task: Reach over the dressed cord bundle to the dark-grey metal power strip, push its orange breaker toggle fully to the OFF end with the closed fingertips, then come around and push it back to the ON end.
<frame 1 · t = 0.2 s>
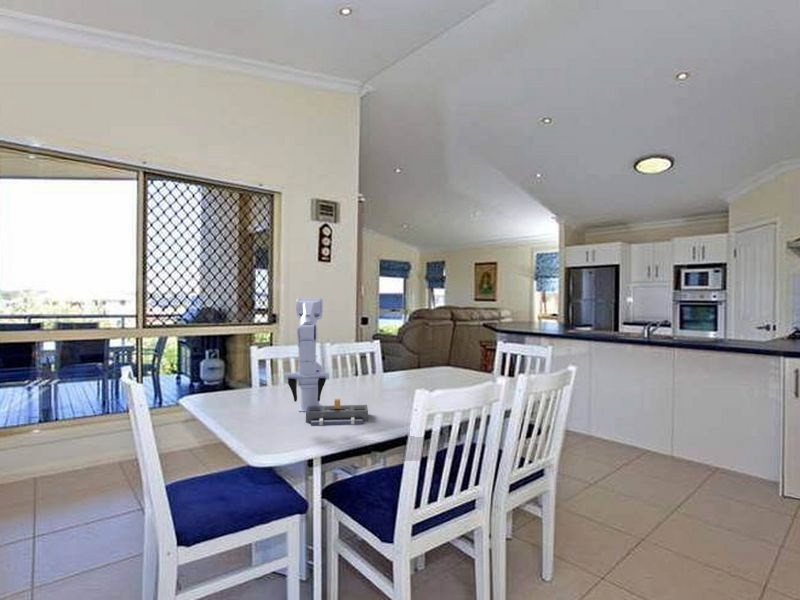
hand: (307, 400, 159), 10 cm above the table, fingers open, 7 cm apart
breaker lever: (337, 403, 173), point 5 cm above the table, slide at 0.0 cm
cords: (337, 423, 167), on the table
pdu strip: (337, 418, 173), on the table
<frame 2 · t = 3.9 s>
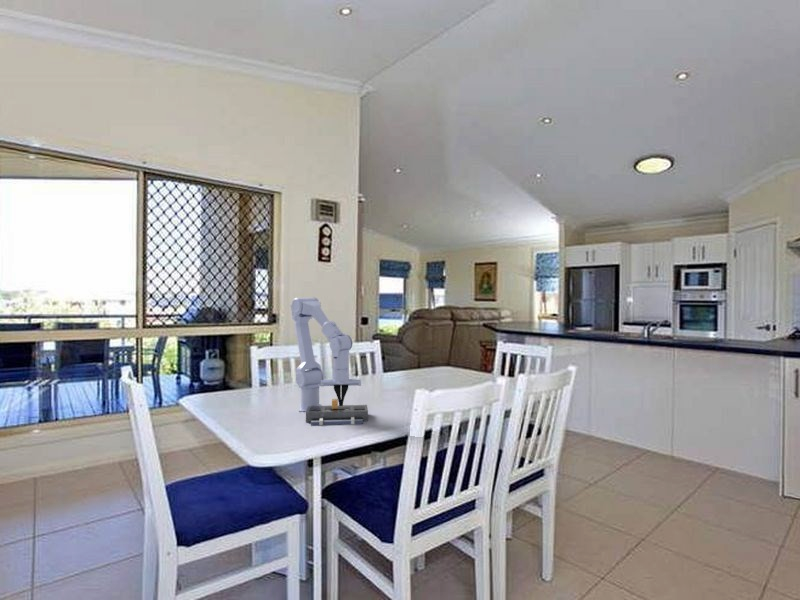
hand: (341, 405, 173), 5 cm above the table, fingers closed
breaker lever: (334, 403, 173), point 5 cm above the table, slide at -1.0 cm, touching gripper
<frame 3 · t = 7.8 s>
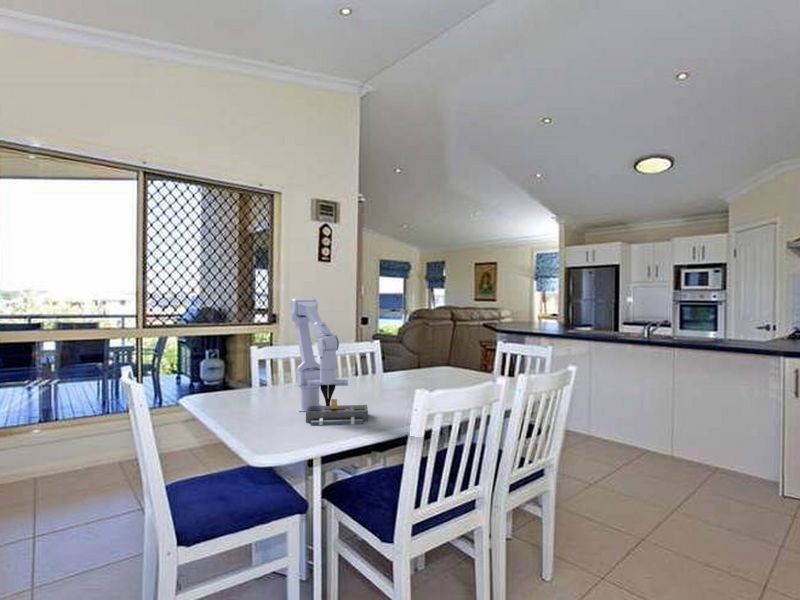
hand: (328, 405, 173), 5 cm above the table, fingers closed
nothing on the table moved.
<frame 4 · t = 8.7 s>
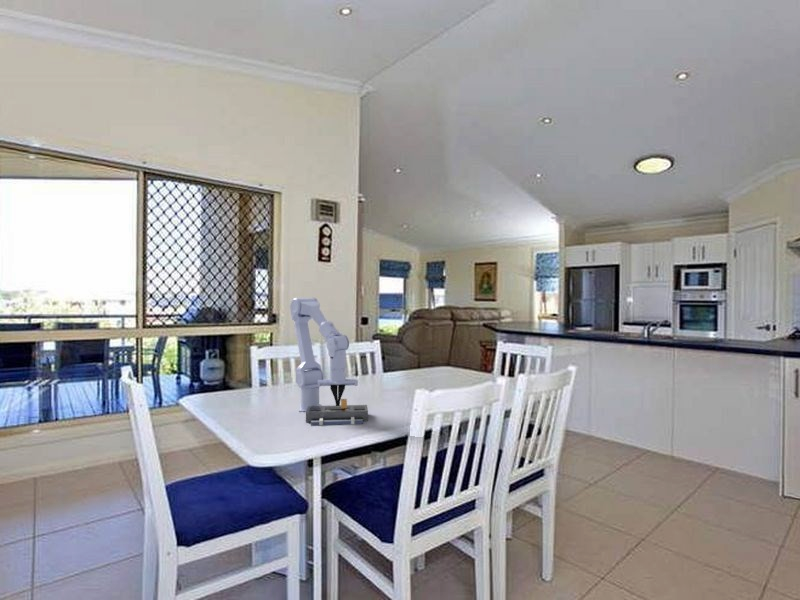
hand: (337, 405, 173), 5 cm above the table, fingers closed
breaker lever: (343, 403, 173), point 5 cm above the table, slide at 2.4 cm, touching gripper
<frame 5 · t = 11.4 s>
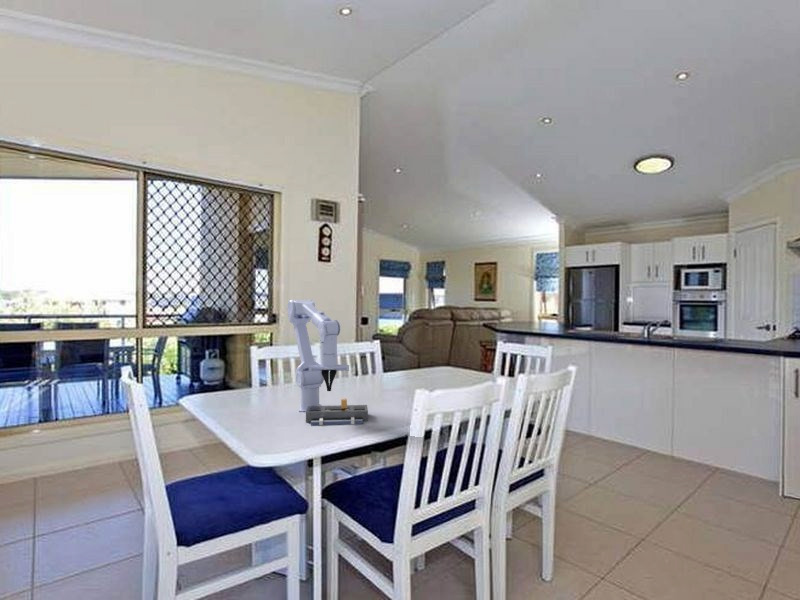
hand: (329, 390, 173), 10 cm above the table, fingers closed
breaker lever: (344, 403, 173), point 5 cm above the table, slide at 2.4 cm
at the end: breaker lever slide at 2.4 cm; the gripper is holding nothing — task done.
